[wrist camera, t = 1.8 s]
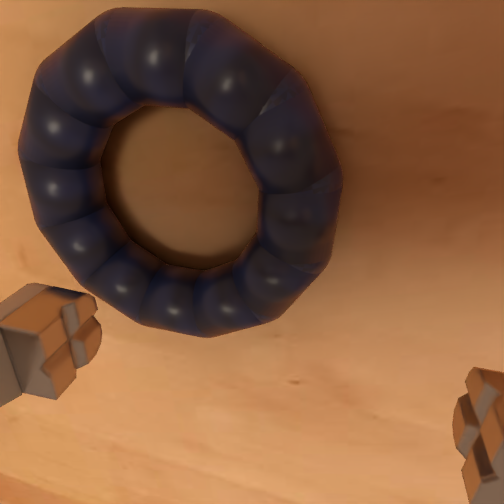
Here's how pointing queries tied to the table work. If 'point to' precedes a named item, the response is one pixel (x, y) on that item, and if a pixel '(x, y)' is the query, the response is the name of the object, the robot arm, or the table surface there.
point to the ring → (216, 113)
